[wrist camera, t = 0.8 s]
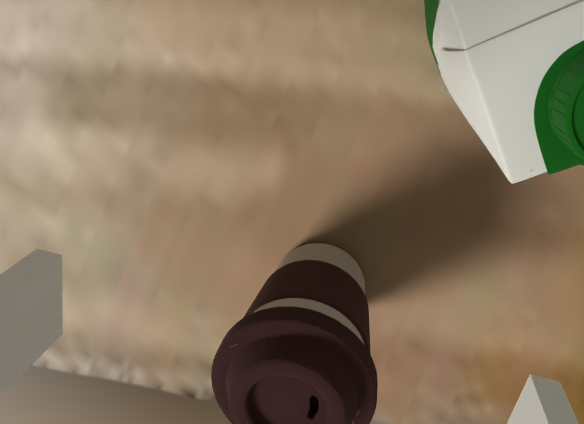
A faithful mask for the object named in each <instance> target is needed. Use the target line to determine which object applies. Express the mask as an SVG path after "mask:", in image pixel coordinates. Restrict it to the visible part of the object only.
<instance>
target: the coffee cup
mask: <svg viewBox="0 0 584 424" xmlns="http://www.w3.org/2000/svg"><path fill="white" fill-rule="evenodd" d="M211 378H212V387H213V391H214V394H215V397H216V400H217V403H218V405H219V406H220V408H221V409H222V411H223V413H224V414H225V415H226V417H227V418H228V419H229V421H230V422H231V423H232V424H369V423H370V421H371V419H372V417H373V415H374V412H375V408H376V402H377V372H376V369H375V365H374V362H373V360H372V357H371V355H370V332H369V310H368V303H367V299H366V296H365V281H364V276H363V273H362V271H361V269H360V267H359V265H358V264H357V262H356V261H355V260H354V259H353V257H352V256H350V255H349V254H348V253H347V252H345V251H344V250H342V249H340V248H338V247H336V246H333V245H330V244H325V243H311V244H306V245H303V246H300V247H298V248H296V249H294V250H292V251H291V252H290V253H288V254H287V255H286V256H285V257H284V259H283V260H282V262H281V263H280V265H279V266H278V268H277V270H276V271H275V272H274V273H273V274H272V275H271V276H270V277H269V278H268V279H267V281H266V282H265V284H264V286H263V287H262V289H261V290H260V292H259V294H258V295H257V297H256V298H255V300H254V302H253V303H252V305H251V306H250V308H249V310H248V311H247V313H246V314H245V316H244V318H243V319H241V320H240V321H239V322H237V323H236V324H235V325H234V326H233V327H232V328H231V329H230V330H229V332H228V333H227V334H226V336H225V337H224V339H223V341H222V343H221V345H220V347H219V349H218V351H217V353H216V355H215V358H214V361H213V365H212V373H211Z"/></svg>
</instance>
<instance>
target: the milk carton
mask: <svg viewBox="0 0 584 424" xmlns="http://www.w3.org/2000/svg"><path fill="white" fill-rule="evenodd" d="M424 1H425V16H426V29H427V36H428V40H429V43H430V47H431V50H432V53H433V55H434V58H435V61H436V64H437V66H438V69H439V72H440V74H441V77H442V79H443V81H444V83H445V86H446V88H447V90H448V91H449V93H450V94H451V96H452V97H453V99H454V101H455V102H456V104H457V105H458V107H459V108H460V110H461V111H462V113H463V114H464V116H465V118H466V119H467V120H468V122H469V123H470V125H471V126H472V127H473V129H474V130H475V132H476V133H477V135H478V136H479V137H480V139H481V140H482V142H483V143H484V145H485V146H486V147H487V149H488V150H489V152H490V153H491V155H492V156H493V157H494V159H495V160H496V162H497V163H498V165H499V167H500V168H501V170H502V171H503V173H504V174H505V176H506V177H507V179H508V180H509V181H510V182H511V183H512V184H514V183H517V182H520V181H523V180H526V179H529V178H531V177H534V176H537V175H539V174H542V173H545V172H548V174H553V173H556V172H559V171H562V170H565V169H568V168H570V167H573V166H576V165H584V0H424Z"/></svg>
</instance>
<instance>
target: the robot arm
mask: <svg viewBox="0 0 584 424" xmlns="http://www.w3.org/2000/svg"><path fill="white" fill-rule="evenodd" d="M62 333H63V314H62V255H59V254H55V253H52V252H48V251H44V250H40V249H36V250H35V251H33V252H32V253H30V254H29V255H28V256H26V257H25V258H23V259H22V260H20V261H19V262H18V263H16V264H15V265H13V266H12V267H11V268H9V269H8V270H6V271H5V272H4V273H2V274H1V275H0V397H1V395H2V394H3V393H4V392H5V391H6V390H7V389H8V388H9V387H10V386H11V385H12V384H13V383H14V382H15V381H16V380H17V379H18V378H19V377H20V376H21V375H22V374H23V373H24V372H25V371H26V370H27V369H28V368H29V367H30V366H31V365H32V364H33V363H34V362H35V361H36V360H37V359H38V358H39V357H40V356H41V355H42V354H43V353H44V352H45V351H46V350H47V349H48V348H49V347H50V346H51V345H52V344H53V343H54V342H55V340H56V339H57V338H58V337H59V336H60V335H61V334H62ZM507 424H579V423H578V421H577V419H576V417H575V414H574V412H573V410H572V408H571V405H570V403H569V401H568V399H567V396H566V394H565V392H564V390H563V387H562V385H561V383H560V382H559V381H555V380H551V379H547V378H543V377H540V376H536V375H532V374H530V375H529V378H528V380H527V382H526V384H525V386H524V388H523V390H522V392H521V395H520V397H519V399H518V401H517V403H516V405H515V407H514V409H513V412H512V414H511V416H510V418H509V420H508V422H507Z"/></svg>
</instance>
